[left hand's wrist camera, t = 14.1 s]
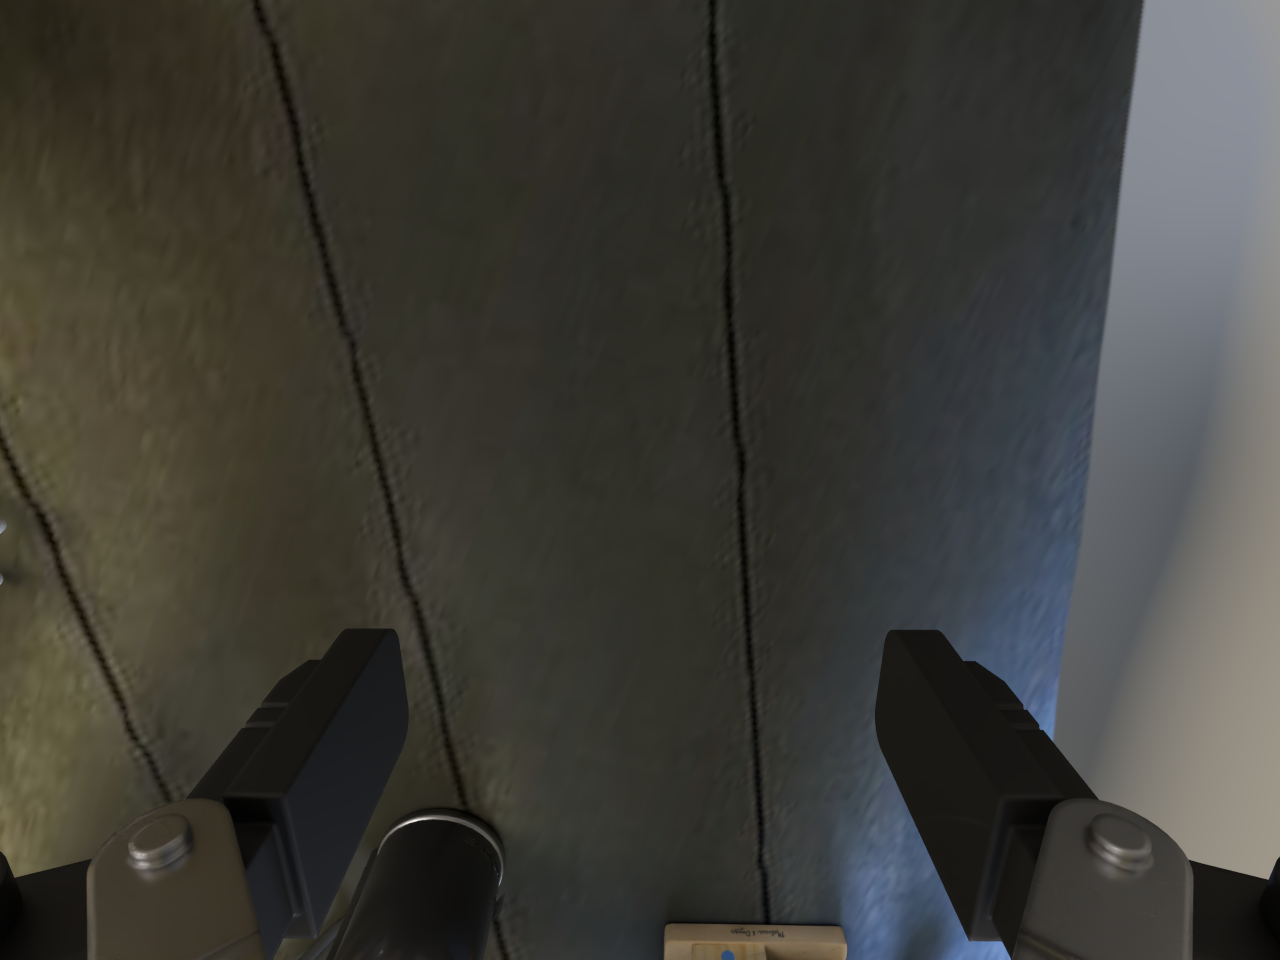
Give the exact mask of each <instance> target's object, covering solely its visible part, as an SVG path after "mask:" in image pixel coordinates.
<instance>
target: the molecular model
mask: <svg viewBox="0 0 1280 960" xmlns="http://www.w3.org/2000/svg"><path fill="white" fill-rule="evenodd" d="M5 528H6V522H5V520H4V519H3V518H1V517H0V533H2V532H3V531H4V530H5ZM2 582H3V575H2V574H1V573H0V585H1V583H2Z"/></svg>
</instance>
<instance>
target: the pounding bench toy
mask: <svg viewBox="0 0 1280 960" xmlns="http://www.w3.org/2000/svg"><path fill="white" fill-rule="evenodd" d="M846 956H847V942H846V939H845V936H844V932H843V929H842V927H839V926H793V925H738V924H673V923H672V924H667V925H666V927H665V933H664V960H846Z"/></svg>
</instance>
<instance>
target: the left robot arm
mask: <svg viewBox="0 0 1280 960" xmlns="http://www.w3.org/2000/svg"><path fill="white" fill-rule="evenodd" d="M261 704H262V705H261V708H257V710H256V711H255V712H254V713H253V715H252V716H251V717H250V718H249V720H248V721H247V722H246V727H245V728H242V729H241V730H240V731H239V732H238V734H237V735H236V736H235V737H234V739H233V740H232V741H231V742H230V744H229V745H228V746H227V748H226V749H225V750H224V751H223V753H222V754H221V755H220V756H219V758H218V759H217V760H216V761H215V763H214V764H213V765H212V766H211V768H210V769H209V770H208V772H207V773H206V774H205V775H204V777H203V778H202V779H201V780H200V782H199V783H198V784H197V785H196V787H195V788H194V789H193V790H192V792H191V793H190V794H189V796H188V797H187V798H186V799H184V800H179V801H175V802H171V803H168V804H165V805H162V806H159V807H156V808H154V809H152V810H150V811H147V812H145V813H143V814H142V815H140V816H138V817H136V818H134V819H133V820H131V821H130V822H128V823H127V824H125V825H124V826H122V827H121V828H120V829H119V830H117V831H116V832H115V833H114V834H112V835H111V836H110V837H109V838H108V839H107V840H106V841H105V842H104V843H103V844H102V846H101V847H100V848H99V849H98V851H97V852H96V853H95V855H94V857H93V858H92V859H89V860H85V861H81V862H77V863H73V864H69V865H65V866H61V867H57V868H53V869H49V870H45V871H41V872H37V873H32V874H28V875H24V876H20V877H16V878H14V876H13V873H12V871H11V868H10V866H9V864H8V861H7V859H6V857H5V856H4V855H3V853H2V852H0V960H273V958H274V956H275V954H276V952H277V950H278V948H279V946H280V944H281V942H282V940H283V938H316V937H317V935H318V933H319V931H320V929H321V926H322V924H323V922H324V920H325V918H326V915H327V913H328V911H329V909H330V907H331V904H332V902H333V900H334V898H335V896H336V893H337V891H338V889H339V887H340V885H341V882H342V880H343V878H344V876H345V874H346V871H347V869H348V867H349V865H350V863H351V860H352V858H353V856H354V854H355V852H356V849H357V847H358V845H359V843H360V841H361V838H362V836H363V834H364V832H365V830H366V827H367V825H368V823H369V821H370V819H371V816H372V814H373V812H374V810H375V808H376V805H377V803H378V801H379V799H380V797H381V794H382V792H383V790H384V788H385V786H386V783H387V781H388V779H389V777H390V775H391V772H392V770H393V768H394V766H395V764H396V761H397V759H398V757H399V755H400V753H401V750H402V748H403V745H404V742H405V739H406V734H407V728H408V715H409V713H408V702H407V694H406V687H405V680H404V673H403V666H402V659H401V651H400V644H399V639H398V635H397V633H396V631H395V630H394V629H345V630H344V631H342V632H341V634H340V635H339V636H338V638H337V639H336V640H335V642H334V643H333V644H332V646H331V647H330V649H329V650H328V651H327V653H326V654H325V655H324V657H323V658H322V659H321V660H308V661H307V662H305V663H304V664H302V665H301V666H299V667H298V668H297V669H295V670H294V671H292V672H291V673H289V674H288V675H286V676H285V677H284V678H282V679H281V680H280V681H279V682H278V683H277V684H276V686H275V687H274V688H273V689H272V691H271V692H270V693H269V695H268V696H267V697H266V698H265V700H264V701H263V702H262V703H261ZM875 725H876V733H877V738H878V742H879V745H880V748H881V750H882V753H883V755H884V757H885V759H886V761H887V764H888V766H889V768H890V770H891V772H892V774H893V777H894V779H895V781H896V783H897V785H898V787H899V790H900V792H901V794H902V796H903V798H904V801H905V803H906V805H907V807H908V809H909V811H910V814H911V816H912V818H913V820H914V822H915V824H916V827H917V829H918V831H919V833H920V835H921V838H922V840H923V842H924V844H925V846H926V848H927V851H928V853H929V855H930V857H931V859H932V861H933V864H934V866H935V868H936V870H937V872H938V874H939V877H940V879H941V881H942V883H943V885H944V888H945V890H946V892H947V894H948V896H949V898H950V901H951V903H952V905H953V907H954V909H955V911H956V914H957V916H958V918H959V920H960V922H961V924H962V927H963V929H964V931H965V933H966V935H967V938H968V940H969V941H1002V942H1003V944H1004V946H1005V948H1006V950H1007V952H1008V954H1009V956H1010V958H1011V960H1280V857H1279V858H1278V859H1277V861H1276V864H1275V866H1274V868H1273V871H1272V873H1271V875H1270V878H1269V880H1267V879H1263V878H1259V877H1255V876H1251V875H1247V874H1243V873H1238V872H1234V871H1230V870H1226V869H1222V868H1218V867H1214V866H1210V865H1206V864H1202V863H1198V862H1195V861H1191V860H1188V859H1187V857H1186V855H1185V854H1184V852H1183V851H1182V849H1181V848H1180V847H1179V846H1178V844H1177V843H1176V842H1175V841H1174V840H1173V839H1172V838H1171V837H1170V836H1169V835H1168V834H1166V833H1165V832H1164V831H1163V830H1161V829H1160V828H1159V827H1158V826H1156V825H1155V824H1153V823H1152V822H1150V821H1149V820H1147V819H1146V818H1144V817H1142V816H1140V815H1138V814H1136V813H1135V812H1133V811H1130V810H1128V809H1126V808H1124V807H1121V806H1118V805H1115V804H1112V803H1109V802H1105V801H1101V800H1099V799H1098V798H1097V797H1096V795H1095V794H1094V793H1093V792H1092V790H1091V789H1090V788H1089V787H1088V785H1087V784H1086V783H1085V782H1084V780H1083V779H1082V778H1081V777H1080V776H1079V774H1078V773H1077V772H1076V770H1075V769H1074V768H1073V767H1072V765H1071V764H1070V763H1069V762H1068V760H1067V759H1066V758H1065V757H1064V755H1063V754H1062V753H1061V752H1060V750H1059V749H1058V748H1057V747H1056V745H1055V744H1054V743H1053V742H1052V740H1051V739H1050V738H1049V737H1048V735H1047V734H1046V733H1045V732H1044V730H1040V729H1039V724H1038V723H1037V722H1036V720H1035V719H1034V718H1033V717H1032V715H1031V714H1030V713H1029V712H1028V710H1024V708H1023V704H1022V703H1021V702H1020V700H1019V699H1018V698H1017V697H1016V695H1015V694H1014V693H1013V692H1012V690H1011V689H1010V688H1009V687H1008V685H1007V684H1006V683H1005V682H1004V681H1003V680H1002V679H1000V678H999V677H997V676H996V675H994V674H993V673H991V672H990V671H989V670H987V669H986V668H984V667H983V666H981V665H980V664H978V663H977V662H976V661H963V660H962V659H961V658H960V656H959V655H958V654H957V652H956V651H955V650H954V648H953V647H952V645H951V644H950V643H949V641H948V640H947V639H946V637H945V636H944V635H943V634H942V632H940V631H938V630H891V631H889V632H888V634H887V636H886V639H885V644H884V650H883V657H882V665H881V672H880V679H879V686H878V693H877V700H876V707H875ZM504 866H505V853H504V849H503V846H502V844H501V842H500V840H499V838H498V837H497V836H496V834H495V833H494V832H493V831H492V830H491V829H490V828H489V827H488V826H487V825H485V824H484V823H483V822H481V821H480V820H478V819H476V818H474V817H472V816H470V815H468V814H465V813H462V812H459V811H454V810H449V809H425V810H420V811H416V812H413V813H410V814H408V815H406V816H404V817H402V818H400V819H399V820H397V821H396V822H395V823H394V824H392V826H391V827H390V828H389V829H388V830H387V832H386V833H385V835H384V838H383V840H382V842H381V845H380V847H379V848H378V849H376V850H373V851H372V853H371V855H370V857H369V860H368V862H367V864H366V867H365V869H364V871H363V874H362V876H361V878H360V881H359V883H358V885H357V888H356V890H355V892H354V895H353V897H352V899H351V902H350V904H349V906H348V909H347V911H346V913H345V916H344V918H342V919H340V920H338V921H337V922H336V923H334V924H333V925H332V926H331V927H330V928H329V929H328V930H327V931H326V932H325V933H324V934H323V935H322V936H321V937H320V938H319V940H318V941H317V942H316V943H315V944H314V945H313V946H312V947H311V948H310V949H309V950H308V951H307V952H306V953H305V954H304V955H303V956H302V957H300V958H299V959H298V960H314V959H315V958H316V957H317V956H318V955H319V954H320V953H321V952H322V950H323V949H324V948H325V947H326V946H327V945H328V944H329V943H330V942H331V941H332V940H333V939H334V938H335V939H334V941H333V944H332V946H331V948H330V951H329V953H328V955H327V958H326V960H483V958H484V953H485V949H486V944H487V939H488V934H489V930H490V925H491V922H492V921H493V920H494V919H495V918H496V917H497V915H498V914H499V913H500V912H501V909H502V904H503V899H504V894H505V893H504V894H503V895H502V896H501V897H500V899H499V900H498V901H497V902H496V897H497V892H498V887H499V885H500V882H501V879H502V875H503V871H504ZM495 902H496V903H495Z"/></svg>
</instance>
